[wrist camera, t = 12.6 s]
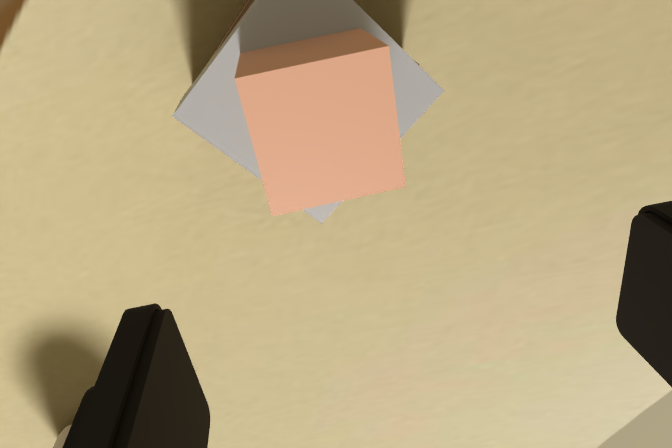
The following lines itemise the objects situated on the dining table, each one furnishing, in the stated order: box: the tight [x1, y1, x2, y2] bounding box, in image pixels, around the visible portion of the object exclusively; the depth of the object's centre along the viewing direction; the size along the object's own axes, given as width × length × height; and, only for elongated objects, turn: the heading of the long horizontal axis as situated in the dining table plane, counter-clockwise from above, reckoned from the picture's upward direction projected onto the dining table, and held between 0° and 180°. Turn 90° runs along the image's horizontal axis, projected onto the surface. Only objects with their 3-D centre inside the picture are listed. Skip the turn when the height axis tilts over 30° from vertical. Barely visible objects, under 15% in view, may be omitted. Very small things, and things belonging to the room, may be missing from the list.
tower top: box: [172, 0, 444, 223], centre depth 27 cm, size 10×10×4 cm
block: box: [234, 28, 406, 216], centre depth 23 cm, size 6×6×6 cm
